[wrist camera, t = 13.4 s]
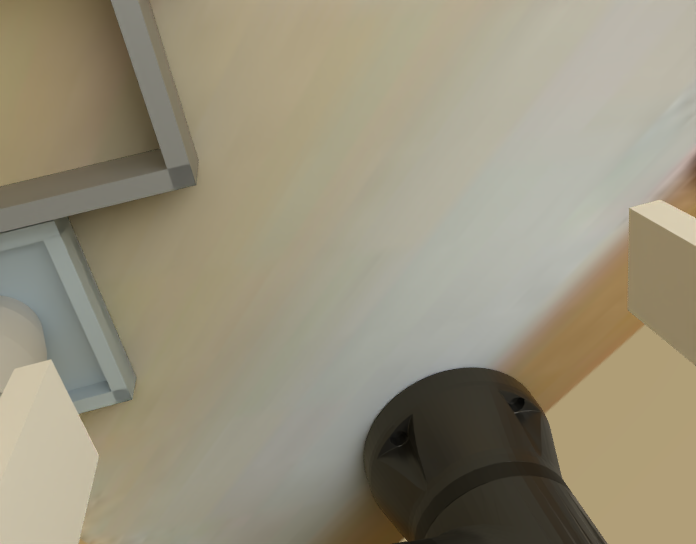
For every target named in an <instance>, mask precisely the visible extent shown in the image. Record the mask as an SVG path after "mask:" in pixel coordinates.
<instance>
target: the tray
mask: <svg viewBox="0 0 696 544" xmlns="http://www.w3.org/2000/svg"><path fill="white" fill-rule="evenodd" d="M0 295H1V296H7V297H11V298H14V299H16V300H18V301H21V302H22V303H24V304H26V305H27V306H28V307H30V308H31V309H32V310H33V311H34V312H35V313H36V315H37V316H38V318H39V319H40V321H41V324H42V328H43V333H44V338H45V344H46V349H47V360H50V359H51V360H52V362H53V364H54V366H55V368H56V370H57V372H58V374H59V376H60V378H61V380H62V382H63V384H64V386H65V388H66V390H67V392H68V394H69V396H70V398H71V400H72V402H73V404H74V406H75V408H76V410H77V412H78V414H80V413H84V412H87V411H91V410H95V409H99V408H102V407H106V406H110V405H113V404H117V403H121V402H125V401H128V400H132V398H133V393H134V388H135V382H136V376H135V373H134V371H133V369H132V366H131V364H130V362H129V359H128V357H127V355H126V352H125V350H124V348H123V345H122V343H121V341H120V338H119V336H118V333H117V331H116V329H115V326H114V324H113V322H112V319H111V317H110V315H109V312H108V310H107V308H106V305H105V303H104V301H103V298H102V296H101V294H100V291H99V289H98V286H97V284H96V282H95V279H94V277H93V275H92V272H91V270H90V268H89V265H88V263H87V261H86V258H85V256H84V254H83V251H82V249H81V247H80V244H79V242H78V239H77V237H76V235H75V232H74V230H73V228H72V225H71V223H70V221H69V218H68V216H66V217H62V218H58V219H54V220H50V221H46V222H42V223H38V224H33V225H29V226H25V227H21V228H17V229H13V230H9V231H5V232H1V233H0Z"/></svg>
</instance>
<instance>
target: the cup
mask: <svg viewBox="0 0 696 544" xmlns="http://www.w3.org/2000/svg"><path fill="white" fill-rule="evenodd" d="M46 360H47V349H46V344H45V338H44V333H43V328H42V324H41V321H40V319H39V318H38V316H37V315H36V313H35V312H34V311H33V310H32V309H31V308H30V307H28V306H27V305H26V304H24V303H22V302H21V301H18V300H16V299H14V298H11V297H7V296H1V295H0V397H1V395H2V393H3V391H4V389H5V387H6V385H7V383H8V381H9V379H10V377H11V375H12V373H13V371H14V369H16V368H20V367H23V366H27V365H31V364H35V363H39V362H43V361H46Z"/></svg>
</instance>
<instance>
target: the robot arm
mask: <svg viewBox="0 0 696 544" xmlns="http://www.w3.org/2000/svg"><path fill="white" fill-rule="evenodd" d="M628 311H630V312H631V313H632V314H633V315H634V316H636V317H637V318H638V319H639V320H641V321H642V322H643V323H644V324H645V325H647V326H648V327H649V328H650V329H652V330H653V331H654V332H655V333H656V334H658V335H659V336H660V337H661V338H662V339H664V340H665V341H666V342H667V343H668V344H670V345H671V346H672V347H673V348H675V349H676V350H677V351H678V352H680V353H681V354H682V355H683V356H684V357H685V358H687V359H688V360H689V361H690V362H692V363H693V364H694V365H695V366H696V218H695V217H693V216H691V215H689V214H687V213H685V212H683V211H681V210H679V209H677V208H675V207H673V206H671V205H669V204H668V203H666V202H664V201H662V200H658V201H654V202H650V203H646V204H642V205H639V206H635V207H631V208H629V259H628ZM98 459H99V455H98V453H97V451H96V449H95V447H94V445H93V443H92V441H91V439H90V436H89V434H88V432H87V430H86V428H85V426H84V424H83V422H82V420H81V418H80V416H79V414H78V412H77V410H76V408H75V406H74V404H73V402H72V400H71V398H70V396H69V394H68V392H67V390H66V388H65V386H64V384H63V382H62V380H61V378H60V376H59V374H58V372H57V370H56V368H55V366H54V364H53V362H52V360H51V359H50V360H46V361H43V362H39V363H35V364H31V365H27V366H23V367H20V368H16V369H14V371H13V373H12V375H11V377H10V379H9V381H8V383H7V385H6V387H5V389H4V391H3V393H2V395H1V397H0V544H79V539H80V535H81V531H82V527H83V522H84V518H85V514H86V510H87V505H88V501H89V497H90V493H91V488H92V484H93V480H94V476H95V471H96V467H97V463H98ZM364 467H365V472H366V475H367V479H368V482H369V485H370V488H371V492H372V494H373V497H374V498H375V500H376V502H377V504H378V506H379V507H380V509H381V510H382V511H383V512H384V514H385V515H386V516H387V517H388V518H389V520H390V521H391V522H392V523H393V524H394V525H395V527H396V528H397V529H398V530H399V531H400V533H401V534H402V535H403V536H404V537H405V539H406V540H407V541H408V542H400V543H394V544H607V542H606V541H605V540H604V538H603V537H602V536H601V534H600V532H599V531H598V529H597V528H596V527H595V525H594V524H593V522H592V521H591V519H590V518H589V517H588V515H587V514H586V513H585V511H584V509H583V508H582V507H581V505H580V504H579V502H578V501H577V499H576V498H575V496H574V495H573V494H572V492H571V491H570V489H569V488H568V486H567V485H566V483H565V482H564V481H563V479H562V476H561V472H560V468H559V464H558V459H557V455H556V451H555V447H554V442H553V438H552V434H551V429H550V426H549V423H548V420H547V418H546V416H545V414H544V412H543V410H542V409H541V407H540V406H539V404H538V403H537V402H536V400H535V399H534V398H533V396H532V395H531V394H530V392H529V391H528V390H527V389H526V388H525V387H524V386H523V385H522V384H521V383H520V382H518V381H517V380H516V379H514V378H512V377H510V376H508V375H506V374H504V373H501V372H498V371H495V370H491V369H484V368H460V369H453V370H448V371H444V372H441V373H438V374H435V375H432V376H429V377H427V378H425V379H422V380H421V381H419V382H417V383H415V384H413V385H412V386H410V387H408V388H407V389H405V390H404V391H403V392H401V393H400V394H399V395H397V396H396V397H395V398H394V399H393V400H392V401H391V402H390V403H389V404H388V405H387V406H386V407H385V408H384V409H383V410H382V412H381V413H380V414H379V416H378V417H377V419H376V420H375V422H374V424H373V425H372V427H371V429H370V432H369V434H368V437H367V440H366V443H365V449H364Z"/></svg>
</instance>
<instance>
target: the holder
mask: <svg viewBox="0 0 696 544" xmlns="http://www.w3.org/2000/svg"><path fill="white" fill-rule="evenodd" d="M111 2H112V5H113V8H114V11H115V14H116V17H117V20H118V23H119V26H120V29H121V32H122V35H123V38H124V41H125V44H126V47H127V50H128V53H129V56H130V59H131V62H132V65H133V68H134V71H135V74H136V77H137V80H138V83H139V86H140V89H141V92H142V95H143V98H144V101H145V104H146V107H147V110H148V113H149V116H150V119H151V122H152V125H153V128H154V131H155V134H156V137H157V140H158V143H159V146H160V149H157V150H153V151H148V152H144V153H140V154H136V155H132V156H127V157H123V158H119V159H115V160H110V161H106V162H102V163H98V164H94V165H89V166H85V167H81V168H77V169H72V170H68V171H64V172H60V173H56V174H51V175H47V176H43V177H39V178H34V179H30V180H26V181H22V182H18V183H13V184H9V185H5V186H1V187H0V233H1V232H5V231H9V230H13V229H17V228H21V227H25V226H29V225H33V224H38V223H42V222H46V221H50V220H54V219H58V218H62V217H66V216H71V215H75V214H79V213H83V212H87V211H91V210H95V209H99V208H103V207H108V206H112V205H116V204H120V203H124V202H128V201H132V200H136V199H140V198H145V197H149V196H153V195H157V194H161V193H165V192H169V191H173V190H178V189H182V188H186V187H190V186H194V185H196V184H197V171H198V157H197V154H196V151H195V147H194V144H193V141H192V138H191V135H190V131H189V128H188V125H187V122H186V118H185V115H184V112H183V109H182V105H181V102H180V99H179V96H178V92H177V89H176V86H175V83H174V80H173V76H172V73H171V70H170V67H169V63H168V60H167V57H166V54H165V50H164V47H163V44H162V41H161V37H160V34H159V31H158V28H157V25H156V21H155V18H154V15H153V12H152V8H151V5H150V2H149V0H111Z"/></svg>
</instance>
